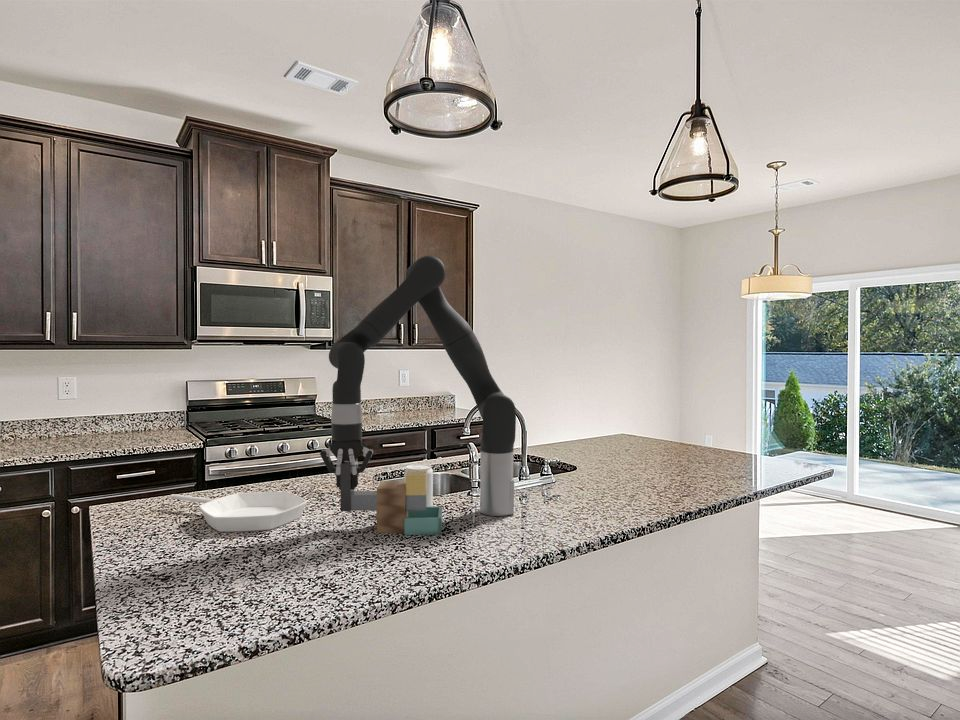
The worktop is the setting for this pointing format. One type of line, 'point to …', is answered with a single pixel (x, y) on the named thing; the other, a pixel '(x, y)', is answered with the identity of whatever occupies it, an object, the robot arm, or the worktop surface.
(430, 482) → the beverage can
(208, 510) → the pan
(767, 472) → the worktop surface
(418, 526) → the tray
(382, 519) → the block
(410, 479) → the block
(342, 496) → the grey l-shaped block
